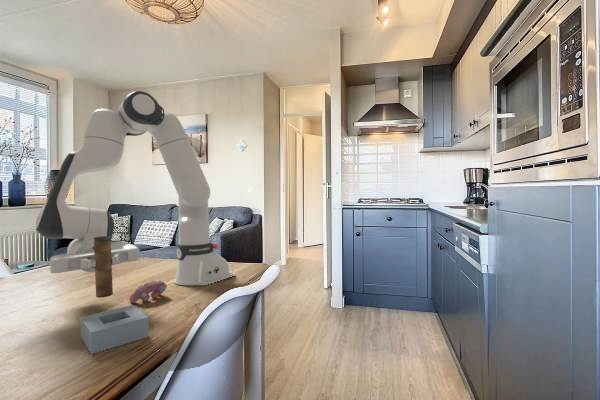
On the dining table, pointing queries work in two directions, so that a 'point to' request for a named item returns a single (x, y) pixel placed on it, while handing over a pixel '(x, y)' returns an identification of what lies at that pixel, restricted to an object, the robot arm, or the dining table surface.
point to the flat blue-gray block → (113, 328)
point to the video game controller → (148, 291)
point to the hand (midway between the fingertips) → (104, 262)
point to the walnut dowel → (103, 266)
